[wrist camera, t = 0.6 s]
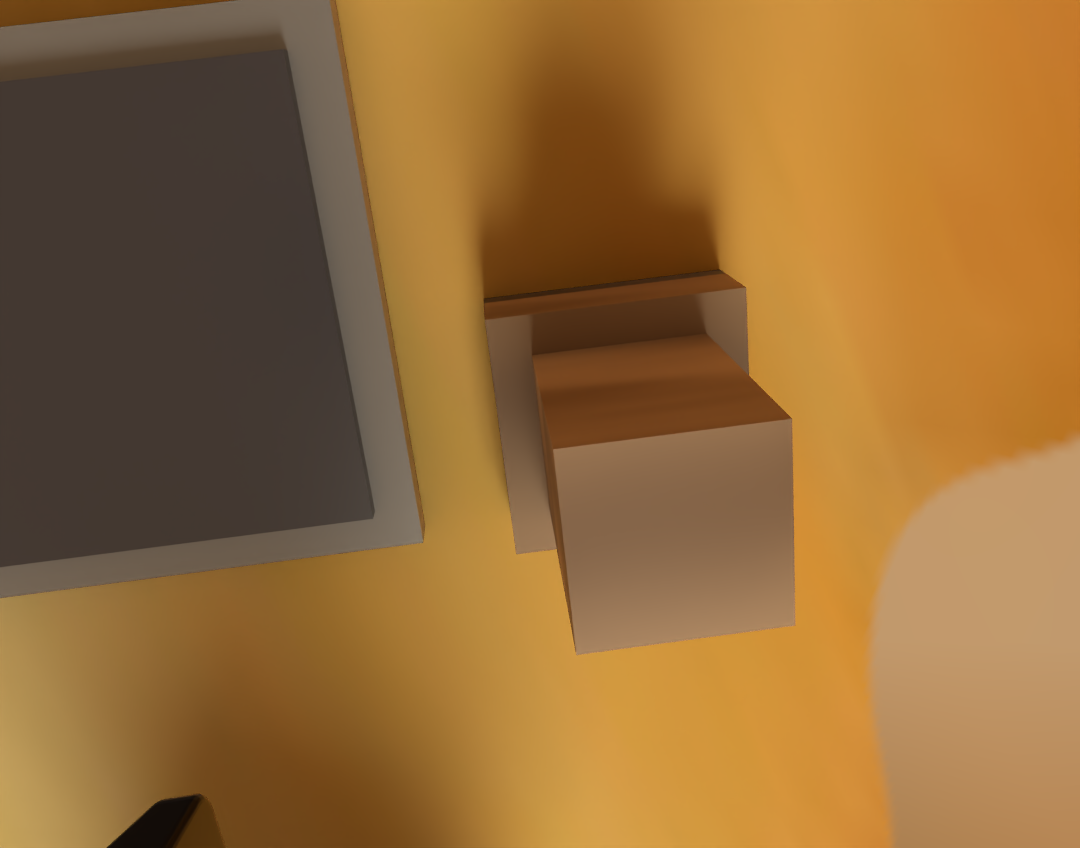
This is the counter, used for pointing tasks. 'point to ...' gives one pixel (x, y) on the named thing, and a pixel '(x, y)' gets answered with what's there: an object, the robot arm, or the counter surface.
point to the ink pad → (190, 301)
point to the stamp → (646, 458)
